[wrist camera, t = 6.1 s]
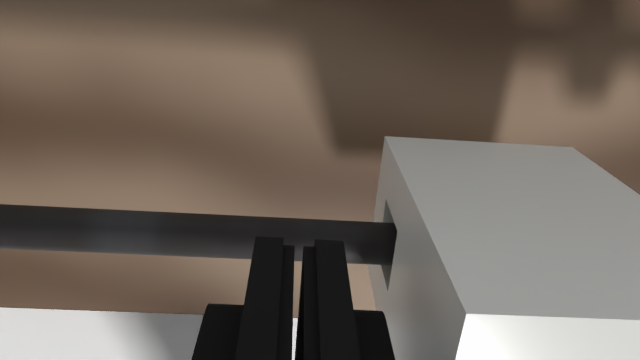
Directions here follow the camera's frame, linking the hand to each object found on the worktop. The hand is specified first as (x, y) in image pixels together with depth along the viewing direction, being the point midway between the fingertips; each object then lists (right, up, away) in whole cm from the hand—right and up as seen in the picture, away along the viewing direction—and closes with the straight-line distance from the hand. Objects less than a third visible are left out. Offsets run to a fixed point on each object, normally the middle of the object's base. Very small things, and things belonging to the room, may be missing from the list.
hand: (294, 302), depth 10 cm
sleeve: (+5, +2, +4) cm, 6 cm away
